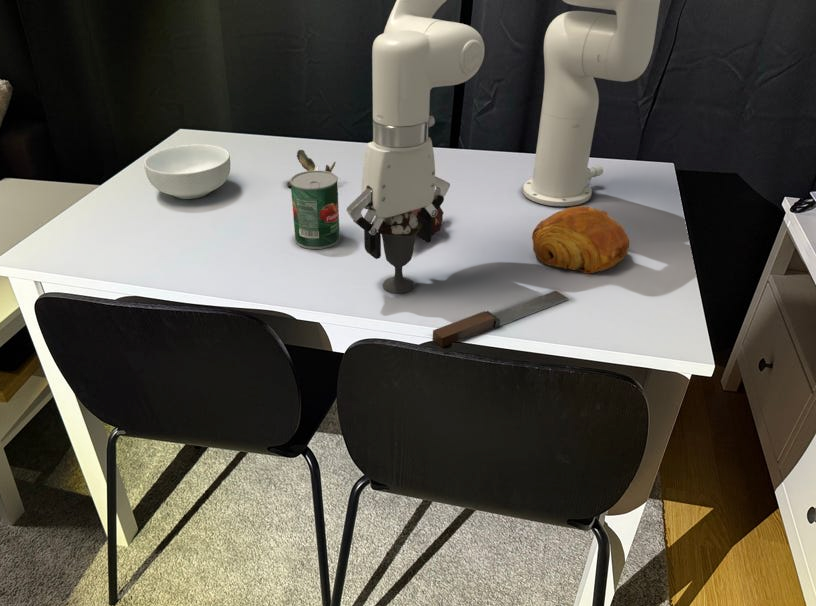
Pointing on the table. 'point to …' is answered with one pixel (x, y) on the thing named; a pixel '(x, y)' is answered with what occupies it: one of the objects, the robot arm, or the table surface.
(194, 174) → the cereal bowl
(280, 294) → the table surface
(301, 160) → the eagle figurine
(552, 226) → the croissant
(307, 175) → the canned tomato
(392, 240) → the sundae
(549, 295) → the knife
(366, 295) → the table surface
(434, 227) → the icecream
